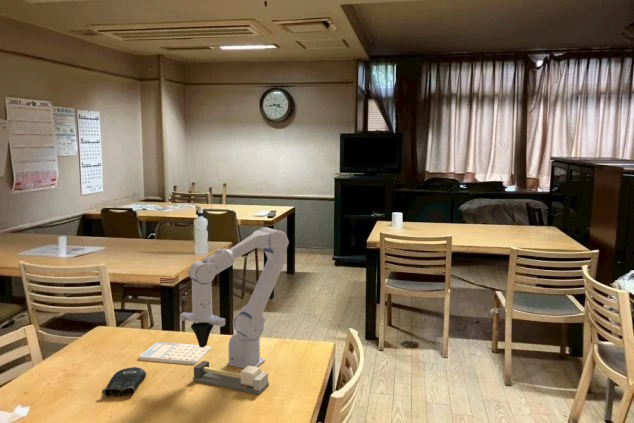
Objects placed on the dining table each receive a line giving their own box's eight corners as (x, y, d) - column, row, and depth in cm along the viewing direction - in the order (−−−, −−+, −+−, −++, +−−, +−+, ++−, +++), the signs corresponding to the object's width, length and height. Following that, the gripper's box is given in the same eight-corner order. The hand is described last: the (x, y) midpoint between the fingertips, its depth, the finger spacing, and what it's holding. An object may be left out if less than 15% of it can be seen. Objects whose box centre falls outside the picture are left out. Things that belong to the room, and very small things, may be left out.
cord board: (193, 380, 151) (192, 367, 151) (204, 372, 157) (204, 360, 156) (258, 394, 143) (258, 381, 142) (268, 385, 148) (268, 372, 148)
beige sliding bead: (240, 384, 146) (240, 371, 145) (248, 377, 150) (248, 365, 149) (253, 386, 144) (253, 373, 144) (260, 380, 148) (260, 367, 148)
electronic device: (138, 401, 142) (149, 371, 156) (134, 384, 141) (146, 355, 155) (104, 407, 141) (118, 376, 156) (99, 390, 140) (114, 360, 154)
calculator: (195, 366, 162) (195, 360, 162) (137, 361, 166) (137, 355, 165) (211, 350, 175) (211, 344, 175) (157, 345, 179) (157, 340, 178)
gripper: (173, 302, 151) (174, 347, 152) (215, 309, 145) (216, 354, 147) (188, 296, 157) (189, 338, 159) (228, 302, 152) (229, 346, 153)
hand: (203, 346), depth 153 cm, fingers closed
